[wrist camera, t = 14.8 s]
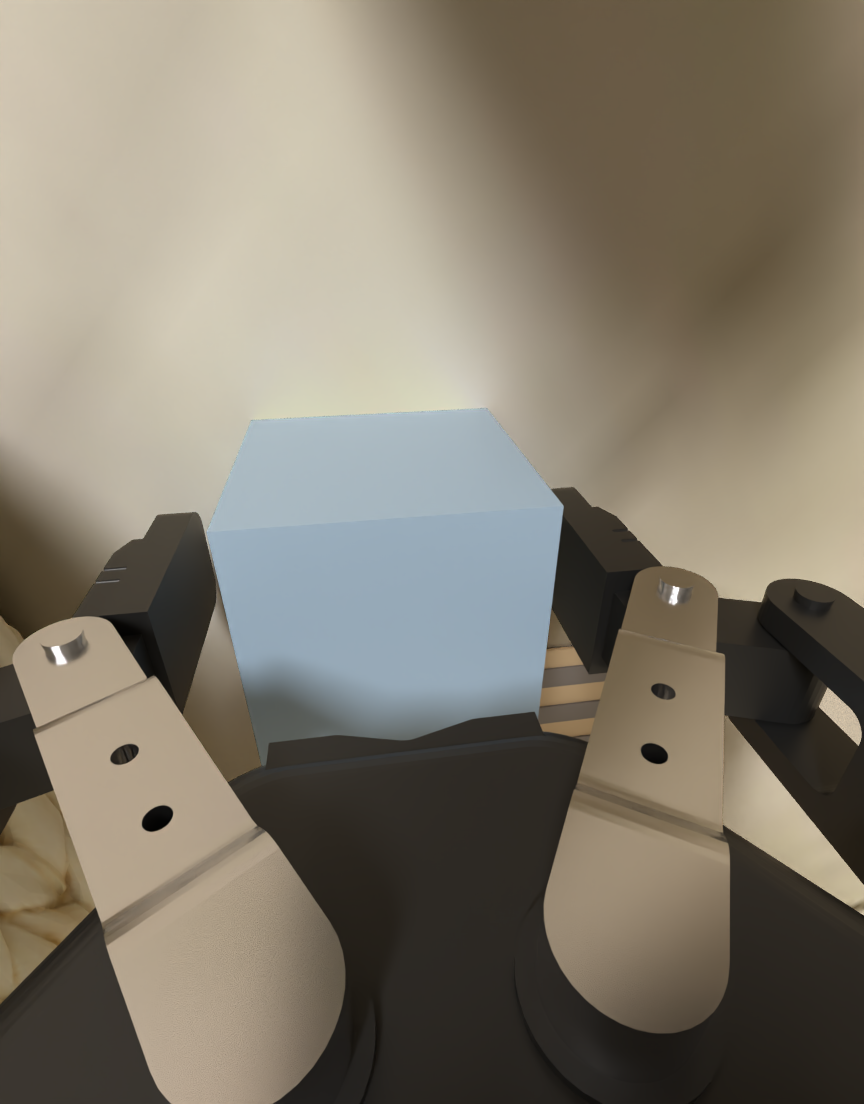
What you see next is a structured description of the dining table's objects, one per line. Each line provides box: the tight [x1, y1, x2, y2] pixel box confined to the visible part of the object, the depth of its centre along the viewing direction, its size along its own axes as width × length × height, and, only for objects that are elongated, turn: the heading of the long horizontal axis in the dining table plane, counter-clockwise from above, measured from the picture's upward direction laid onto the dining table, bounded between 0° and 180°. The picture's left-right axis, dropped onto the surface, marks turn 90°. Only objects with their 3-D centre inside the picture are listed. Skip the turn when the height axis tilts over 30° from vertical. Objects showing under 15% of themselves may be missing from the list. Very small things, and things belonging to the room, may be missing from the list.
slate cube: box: [207, 408, 564, 766], centre depth 11 cm, size 5×5×5 cm
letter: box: [538, 646, 607, 742], centre depth 20 cm, size 11×15×1 cm
